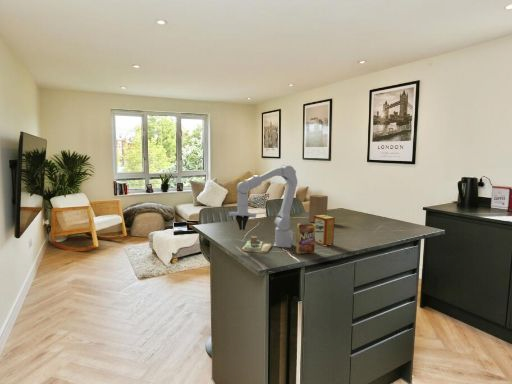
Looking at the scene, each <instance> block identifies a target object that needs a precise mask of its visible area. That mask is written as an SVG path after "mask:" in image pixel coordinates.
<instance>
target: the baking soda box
mask: <svg viewBox="0 0 512 384" xmlns="http://www.w3.org/2000/svg"><path fill="white" fill-rule="evenodd" d="M314 224H315V225H316V230H315V244H316V243H319V244H322V245H329V244H333V245H334V237H335V236H334V235H335V217H333V216H330V215H328V214H327V215H317V216H314ZM319 244H318V245H319ZM322 245H321V246H322Z"/></svg>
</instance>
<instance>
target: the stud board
mask: <svg viewBox="0 0 512 384" xmlns="http://www.w3.org/2000/svg"><path fill="white" fill-rule="evenodd" d="M260 241H261V240H259V239H257V244H259V243H260ZM252 246H253V247H256V244H255V243H253V244H252ZM244 247H245V245H244V246H243V247H242V248H241V249H240V250H241V252H251V253H261V254H268V252H269V251H270V250H271V248H272V247H273V244H271V243H263V244H262V247H261V250H249V249H244ZM258 248H259V247H258Z"/></svg>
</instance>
